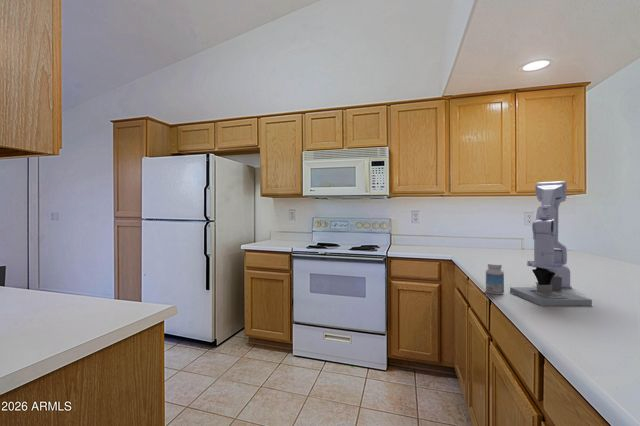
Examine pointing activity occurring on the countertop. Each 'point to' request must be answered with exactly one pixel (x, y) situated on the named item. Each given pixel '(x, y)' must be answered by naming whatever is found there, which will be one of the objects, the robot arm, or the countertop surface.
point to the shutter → (548, 291)
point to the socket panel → (541, 300)
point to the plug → (556, 283)
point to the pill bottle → (494, 279)
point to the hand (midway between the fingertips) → (543, 289)
